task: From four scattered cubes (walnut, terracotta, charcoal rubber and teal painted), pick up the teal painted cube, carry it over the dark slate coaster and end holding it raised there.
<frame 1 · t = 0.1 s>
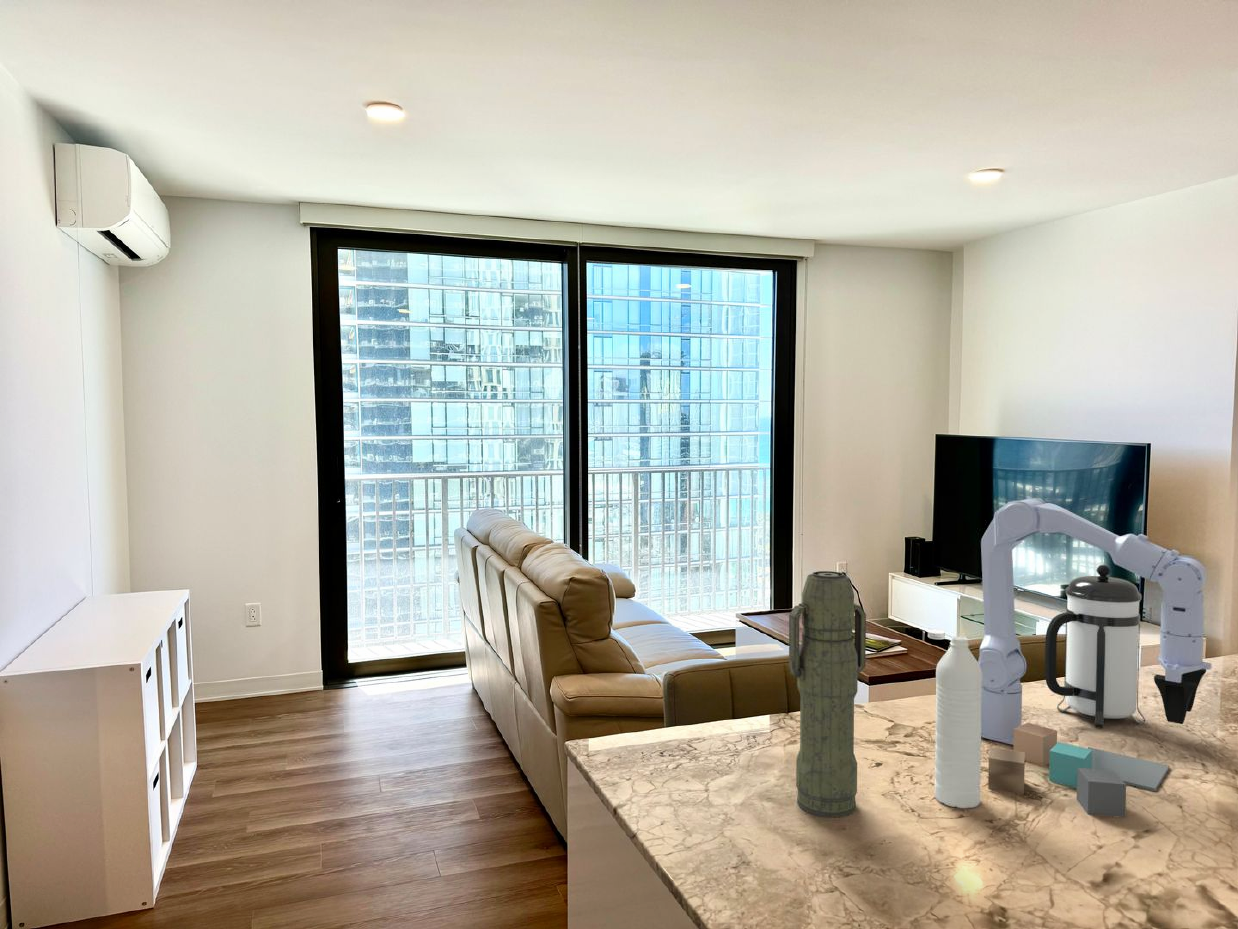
hand: (1179, 716, 135), 10 cm above the kitchen island, fingers open, 7 cm apart
water bottle: (950, 798, 128), on the kitchen island
thermos: (826, 805, 126), on the kitchen island
terracotta block: (1034, 758, 143), on the kitchen island
coffee press: (1096, 719, 163), on the kitchen island
charcoal block: (1100, 809, 124), on the kitchen island
slate coaster: (1119, 769, 138), on the kitchen island
teal block: (1070, 780, 134), on the kitchen island
walnut block: (1006, 786, 132), on the kitchen island
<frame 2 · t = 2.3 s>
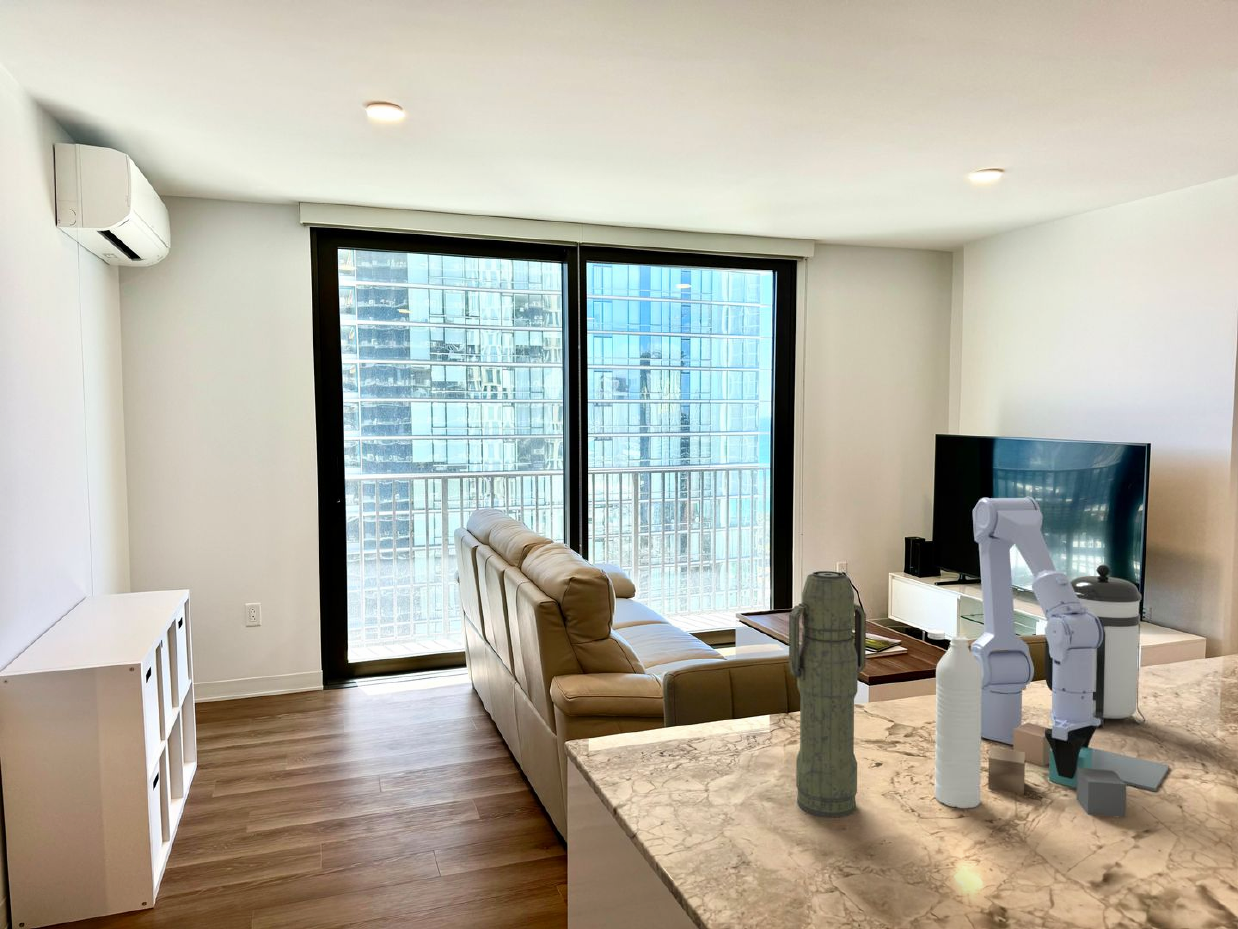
hand: (1070, 771, 134), 1 cm above the kitchen island, fingers closed on teal block, 5 cm apart
teal block: (1070, 780, 134), on the kitchen island, touching gripper
everything else where it was.
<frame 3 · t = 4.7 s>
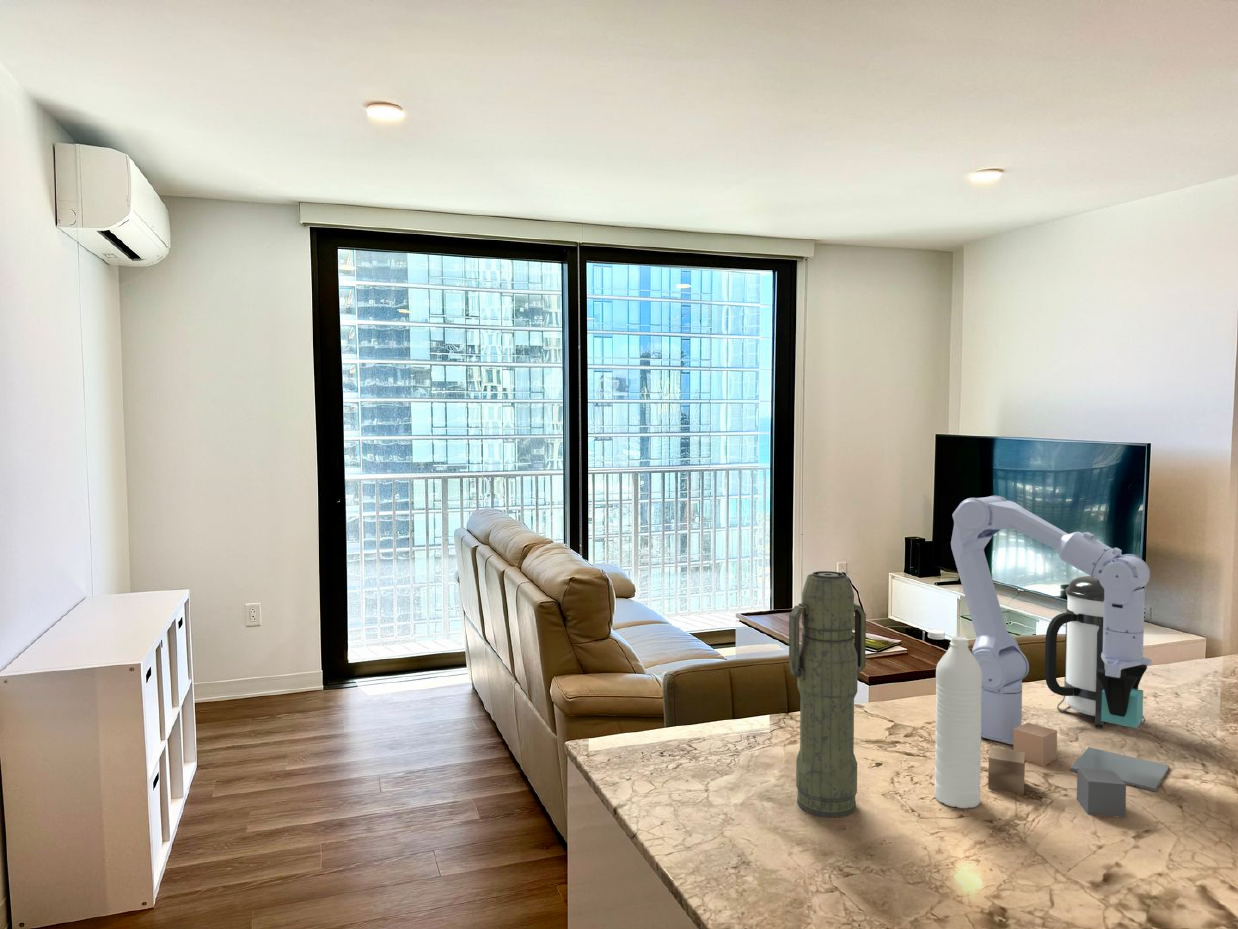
hand: (1121, 710, 138), 10 cm above the kitchen island, fingers closed on teal block, 5 cm apart
teal block: (1121, 720, 138), point 8 cm above the kitchen island, touching gripper
everything else where it was.
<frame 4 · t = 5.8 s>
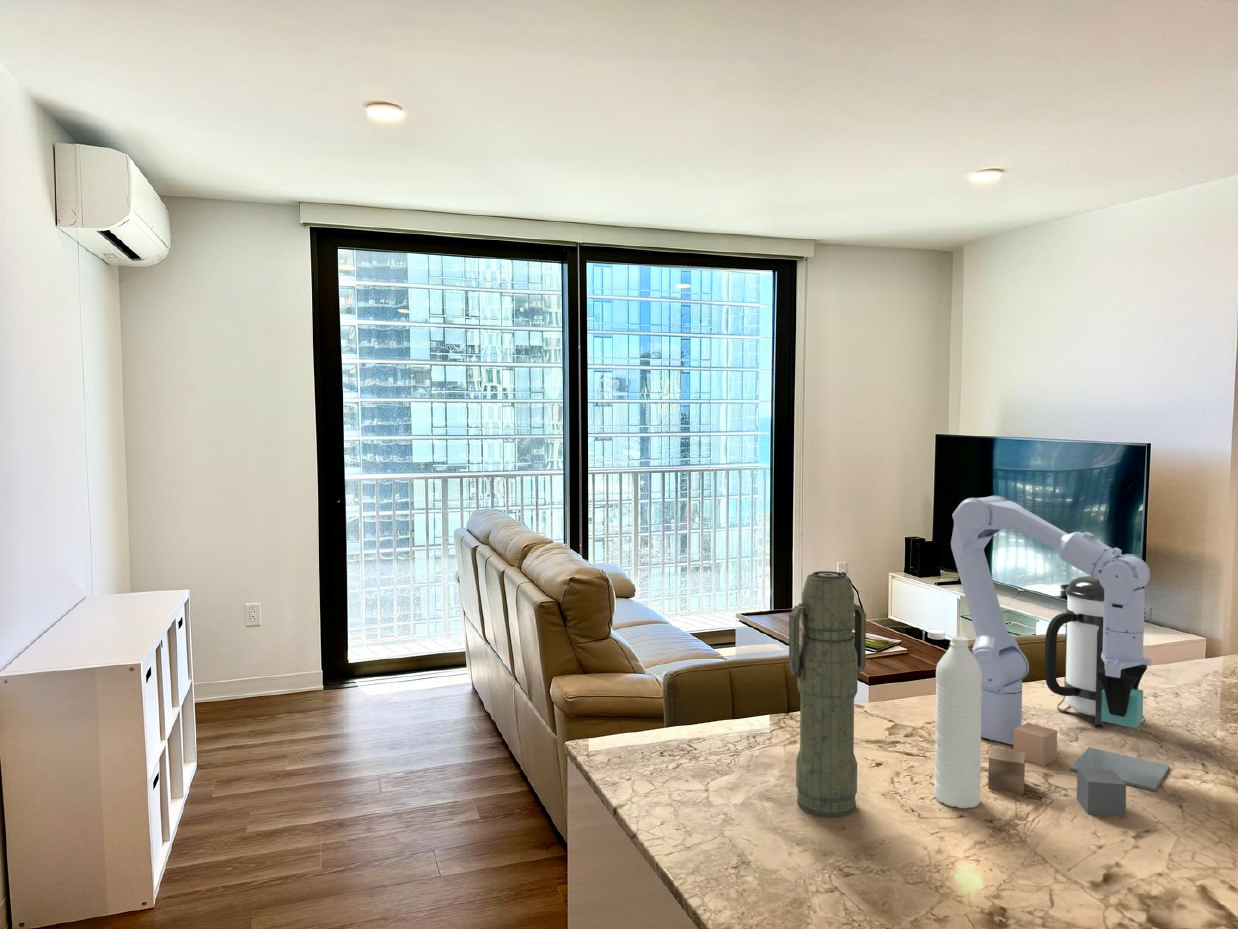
hand: (1121, 710, 138), 10 cm above the kitchen island, fingers closed on teal block, 5 cm apart
teal block: (1121, 720, 138), point 8 cm above the kitchen island, touching gripper
everything else where it was.
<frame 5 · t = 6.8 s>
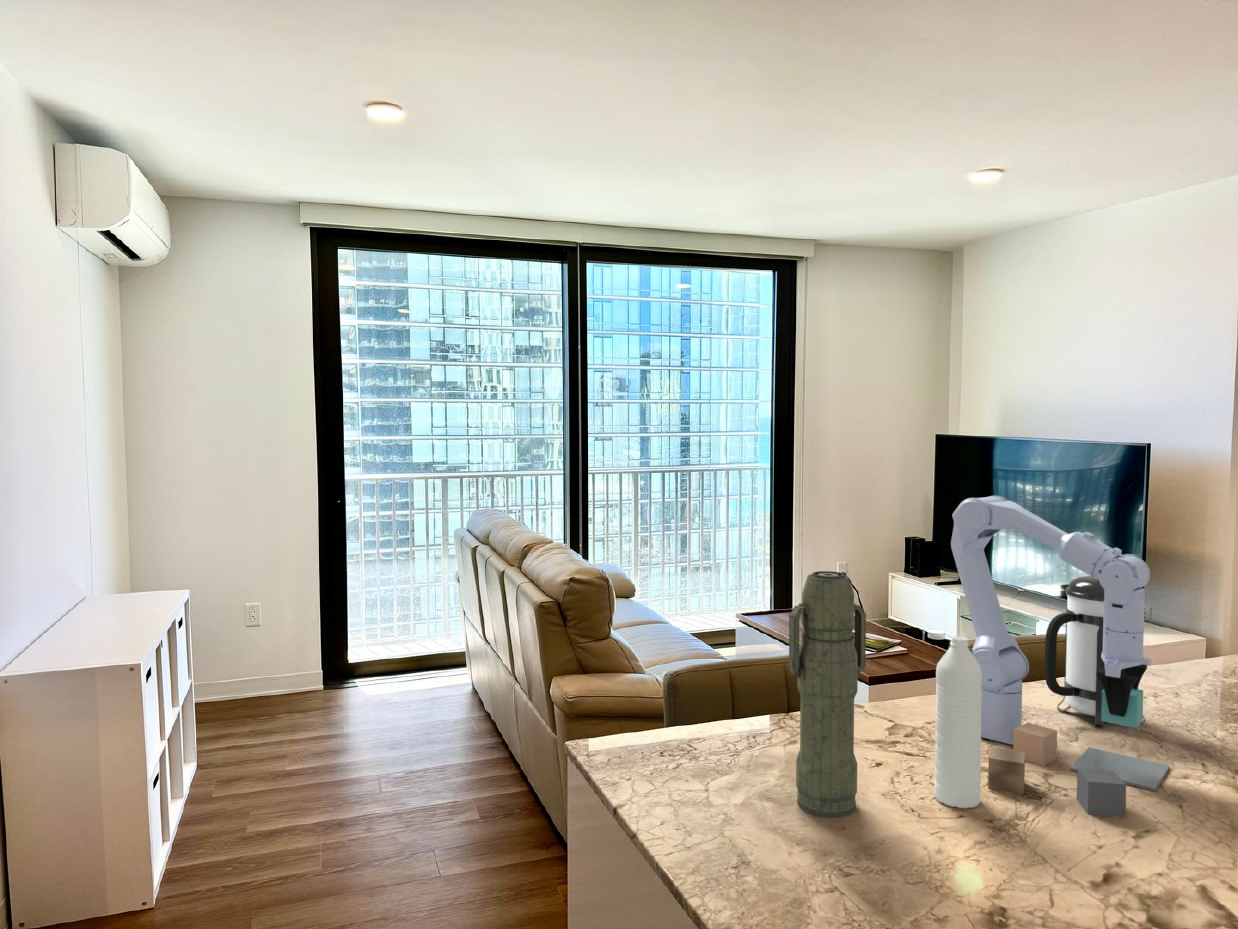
hand: (1121, 710, 138), 10 cm above the kitchen island, fingers closed on teal block, 5 cm apart
teal block: (1121, 720, 138), point 8 cm above the kitchen island, touching gripper
everything else where it was.
at the end: the gripper is holding teal block; teal block inside the target area on the slate coaster (0.1 cm from its centre), point 8.3 cm above the slate coaster's base; terracotta block moved 0.1 cm from its start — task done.
